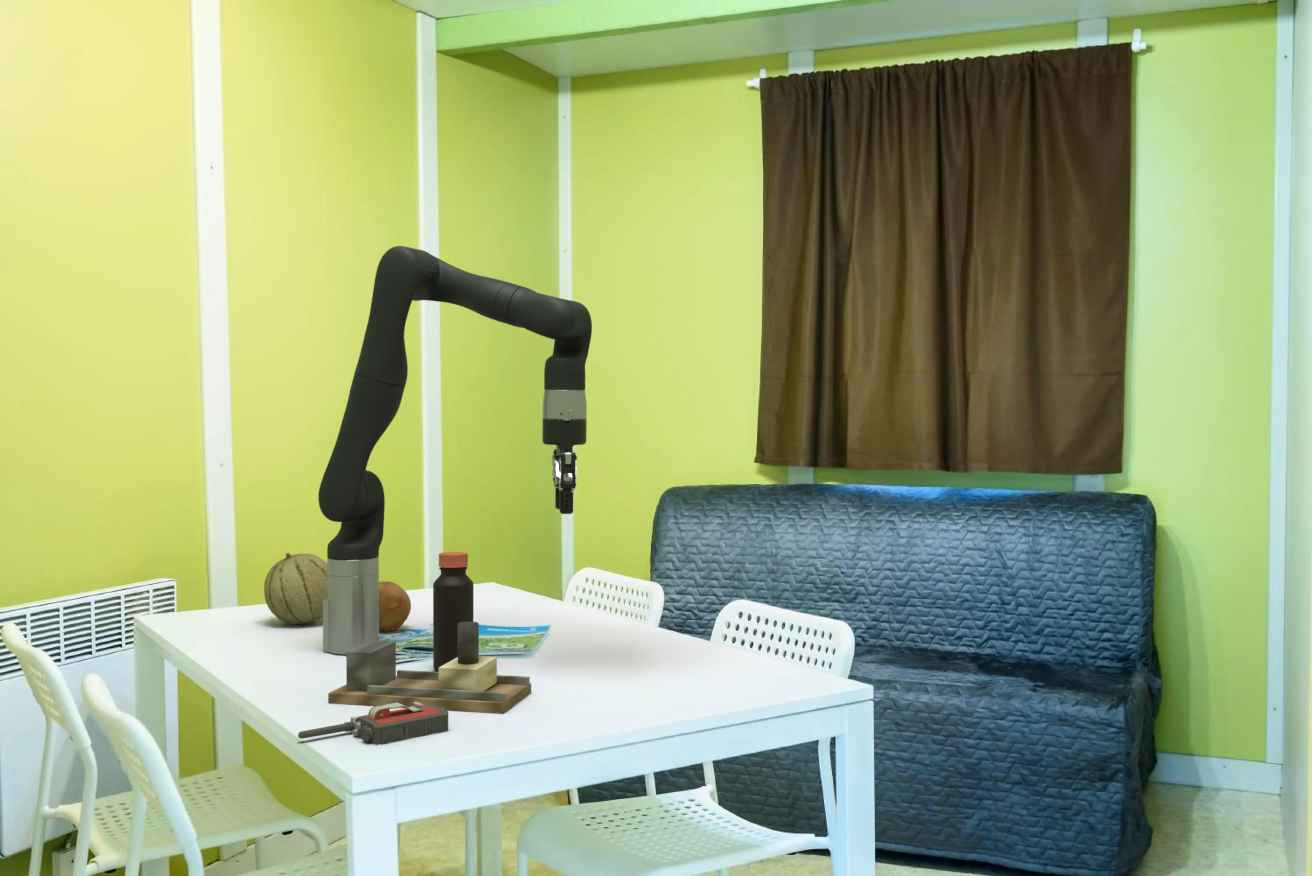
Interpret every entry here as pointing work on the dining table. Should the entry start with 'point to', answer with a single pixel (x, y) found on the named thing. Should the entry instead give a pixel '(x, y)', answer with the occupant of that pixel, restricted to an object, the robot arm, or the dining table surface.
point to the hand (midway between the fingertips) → (564, 511)
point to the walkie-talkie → (390, 723)
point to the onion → (392, 606)
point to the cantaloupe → (297, 588)
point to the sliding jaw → (468, 663)
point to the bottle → (450, 605)
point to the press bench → (417, 684)
